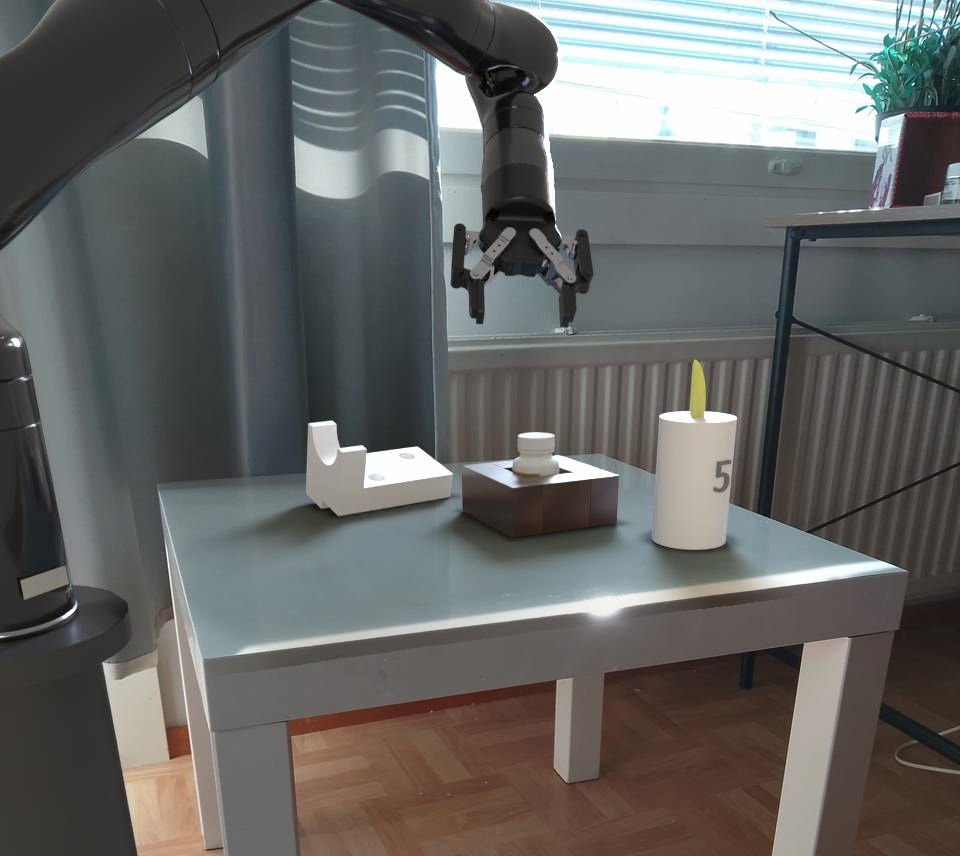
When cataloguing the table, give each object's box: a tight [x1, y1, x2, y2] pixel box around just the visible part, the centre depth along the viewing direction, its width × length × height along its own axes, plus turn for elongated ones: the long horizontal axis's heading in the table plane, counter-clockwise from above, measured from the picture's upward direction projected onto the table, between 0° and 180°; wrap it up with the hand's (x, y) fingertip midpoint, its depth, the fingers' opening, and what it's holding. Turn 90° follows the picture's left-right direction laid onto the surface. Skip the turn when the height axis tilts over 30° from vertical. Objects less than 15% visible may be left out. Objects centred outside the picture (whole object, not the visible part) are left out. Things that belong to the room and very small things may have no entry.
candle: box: [651, 359, 738, 551], centre depth 78 cm, size 6×6×15 cm
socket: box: [461, 454, 620, 539], centre depth 88 cm, size 11×11×4 cm
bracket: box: [305, 420, 454, 517], centre depth 94 cm, size 13×7×8 cm, turn 125°
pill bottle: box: [512, 431, 559, 478], centre depth 87 cm, size 4×4×8 cm
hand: (523, 321), depth 92 cm, fingers open, 8 cm apart
